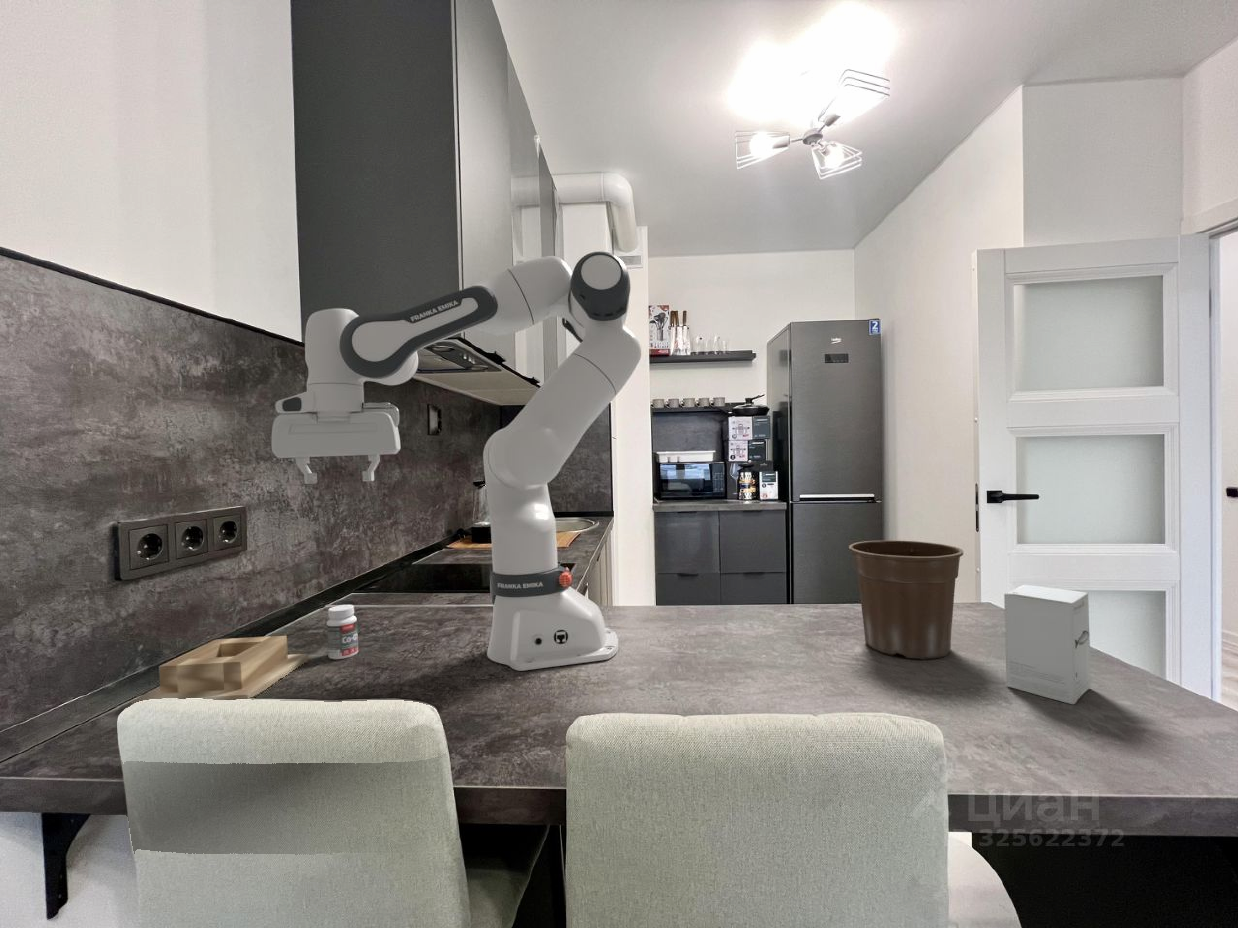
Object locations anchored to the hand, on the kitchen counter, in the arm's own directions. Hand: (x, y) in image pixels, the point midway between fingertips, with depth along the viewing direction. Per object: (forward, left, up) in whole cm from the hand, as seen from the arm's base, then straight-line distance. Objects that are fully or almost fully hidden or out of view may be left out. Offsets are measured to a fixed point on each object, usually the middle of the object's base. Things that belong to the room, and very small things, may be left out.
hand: (340, 482), depth 94 cm
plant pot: (-94, +11, -31) cm, 100 cm away
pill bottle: (+1, 0, -31) cm, 31 cm away
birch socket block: (+14, +10, -30) cm, 35 cm away
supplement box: (-103, +28, -31) cm, 111 cm away
